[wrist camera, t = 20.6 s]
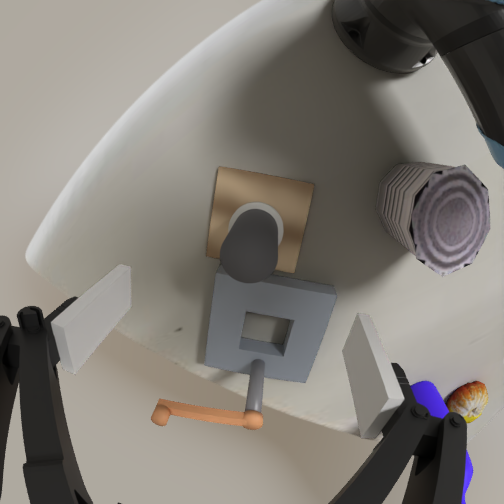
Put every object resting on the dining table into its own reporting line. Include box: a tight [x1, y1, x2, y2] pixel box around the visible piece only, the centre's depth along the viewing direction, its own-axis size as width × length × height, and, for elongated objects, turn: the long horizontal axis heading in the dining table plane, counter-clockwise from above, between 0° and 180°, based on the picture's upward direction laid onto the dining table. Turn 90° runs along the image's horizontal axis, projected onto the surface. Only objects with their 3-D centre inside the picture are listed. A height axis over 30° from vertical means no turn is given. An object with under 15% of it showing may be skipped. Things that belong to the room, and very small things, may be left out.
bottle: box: [410, 381, 473, 504], centre depth 32 cm, size 8×8×30 cm
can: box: [376, 162, 490, 277], centre depth 30 cm, size 11×11×12 cm
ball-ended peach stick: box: [151, 399, 263, 430], centre depth 31 cm, size 13×3×3 cm, turn 86°
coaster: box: [206, 167, 314, 273], centre depth 38 cm, size 12×12×1 cm
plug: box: [220, 202, 283, 283], centre depth 32 cm, size 6×6×13 cm
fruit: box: [446, 381, 488, 423], centre depth 44 cm, size 11×10×8 cm
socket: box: [204, 264, 337, 413], centre depth 37 cm, size 16×16×13 cm
